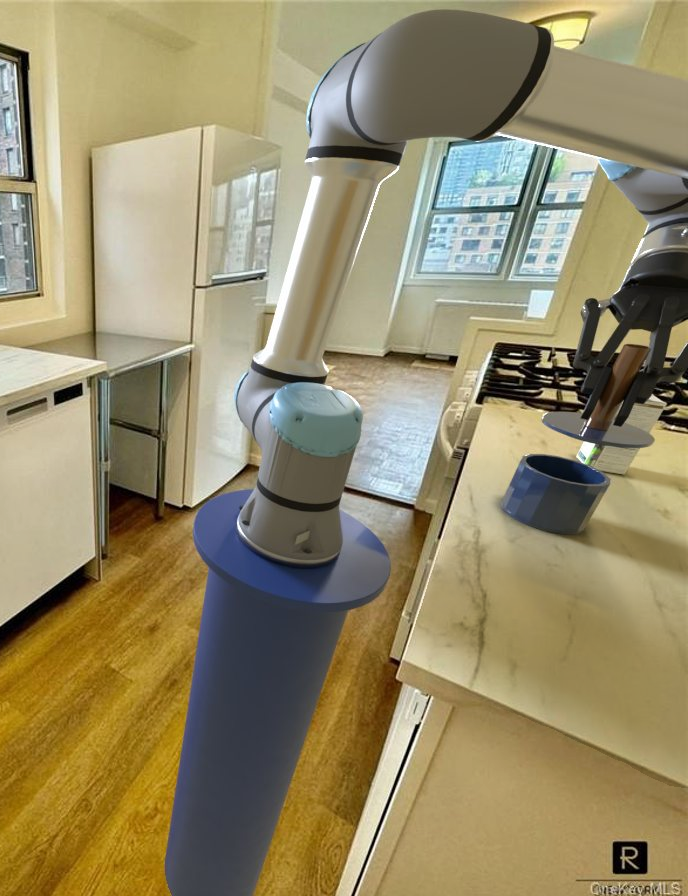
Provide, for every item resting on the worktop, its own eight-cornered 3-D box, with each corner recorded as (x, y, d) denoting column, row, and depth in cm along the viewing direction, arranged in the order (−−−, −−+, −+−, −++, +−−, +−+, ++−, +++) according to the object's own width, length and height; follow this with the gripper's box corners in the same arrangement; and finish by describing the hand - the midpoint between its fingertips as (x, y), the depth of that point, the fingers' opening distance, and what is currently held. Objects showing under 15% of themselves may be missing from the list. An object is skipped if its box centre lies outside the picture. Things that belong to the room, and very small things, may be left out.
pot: (495, 514, 77) (516, 468, 74) (505, 491, 84) (526, 448, 80) (581, 543, 71) (609, 494, 67) (585, 515, 77) (611, 469, 74)
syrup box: (574, 456, 96) (610, 387, 89) (614, 463, 94) (654, 392, 87) (584, 468, 91) (623, 396, 85) (626, 475, 89) (669, 402, 82)
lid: (534, 434, 66) (574, 346, 60) (544, 412, 72) (581, 331, 67) (651, 461, 58) (708, 364, 53) (649, 434, 65) (700, 346, 60)
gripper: (598, 245, 66) (531, 388, 63) (779, 252, 56) (709, 421, 54) (582, 282, 72) (520, 414, 69) (745, 294, 62) (680, 449, 59)
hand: (603, 417), depth 61 cm, fingers closed on lid, 2 cm apart
